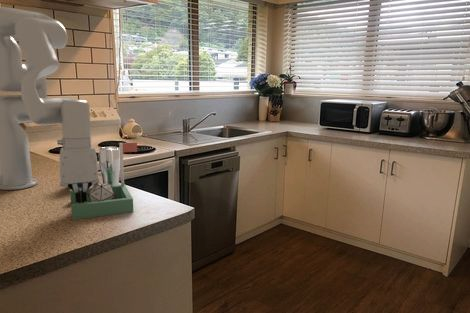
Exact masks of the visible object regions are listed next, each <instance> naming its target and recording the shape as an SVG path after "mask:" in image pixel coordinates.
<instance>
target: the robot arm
mask: <svg viewBox="0 0 470 313" xmlns="http://www.w3.org/2000/svg"><path fill="white" fill-rule="evenodd" d="M14 37H16V38H17V39H16V40H17V41H18V42H17V41H16V40H15V38H14ZM68 39H69V38H68V33H67V29H66V28H65V26H64V25H63V24H62V23H61V22H60V21H58V20H56V19H54V18H52V17H50V16H49V15H46V14H44V13H41V12H36V11H31V10H24V9H18V8H13V7H6V6H0V91H2V92H7V93H8V92H9V93H10V92H11V93H12V92H13V93H14V92H15V93H16V92H17V93H18V92H19V93H20V95H17V94H16V95H15V94H14V95H13V94H12V95H1V96H0V190H1V191H2V190H4V191H5V190H6V191H12V190H22V189H28V188H31V187H34V186H36V185H37V184H38V179H37V178H34V177H33V173H32V164H31V154H30V153H31V152H30V144H29V135H28V133H27V132H26V130H25V129H24V128H23V127H22V126H21V125H20V124H23V123H24V124H25V123H34V124H36V125H40V126H45V125H46V126H48V125H55V124H60V125H61V135H62V138H60V139H57V140H56V142H57V143H56V144H57V145H60V146H62V147H61V148H60V150H59V180H60V181H59V186H60V187H61V188H68V189H69V190H73V191H74V192H75V198H76V202H78V203H85V201H87V197H86V192H87V190H88V189H89V188H92V187H93V186H94V185H95V184H98V183H100V181H101V180H100V179H99V166H98V164H99V163H98V158H97V152H96V149H95V147H94V146H92V145H93V144H92V130H91V129H92V128H91V113H90V112H91V111H90V108H91V107H90V104H89V102H88V101H87V100H85V99H76V98H74V97H48V93H47V92H48V88H47V86H48V85H47V78H46V77H47V76H50V75H52V74H54V73H55V72H56V71H57V70H58V69H59V68H60V61H59V60H58V56H57V54H56V51H55V49H57V50H59V49H60V50H61V49H64V48H65V47H66V46H67V44H68ZM22 54H23V57H24V61H25V63H23V60H22V59H23V58H22ZM77 183H83V186H82V188H78V185H77ZM79 189H81V193H80V190H79Z"/></svg>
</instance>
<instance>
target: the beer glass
mask: <svg viewBox="0 0 470 313" xmlns="http://www.w3.org/2000/svg"><path fill="white" fill-rule="evenodd" d="M98 164H99V171H100V173H101V177H102V178H101V179H102V183H106V184H110V182H112V184H111V186H114V185H120V181H119V180H120V173H121V171H120V148H119V147H118V146H104V147H103V146H102V147H99V148H98Z"/></svg>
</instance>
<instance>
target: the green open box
mask: <svg viewBox="0 0 470 313" xmlns="http://www.w3.org/2000/svg"><path fill="white" fill-rule="evenodd" d="M118 144H119V151H120V184H119V185H114V186H112V189H113V192H114V194H117V195H116V196H117V197H114V199H113V200H104V201H94V202H91V200H90V197H88V195H86V197H87V201H85V202H84V203H82V202H81V203H78V202H76V198H75V192H74V191H73V190H71V189H69V191H70V192H69V193H70V194H69V195H70V209H71V210H70V211H71V220H79V219H87V218H94V217H95V218H96V217H104V216H105V217H106V216H111V215H120V214H127V213H134V199H133V196H132V195H131V192H130V191H129V189H128V188H127V185H126V184H125V175H124V174H125V173H124V172H125V170H124V168H125V167H124V153H130V152H131V153H132V152H135V153H137V152H138V142H133V141H132V142H119V143H118ZM91 189H92V187H90V188H89V189H88V190H87V192H86V194H87V193H88V194H89V192H90V191H91ZM79 190H80V193H81V188H79ZM115 198H116V199H115Z"/></svg>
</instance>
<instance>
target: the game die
mask: <svg viewBox="0 0 470 313" xmlns="http://www.w3.org/2000/svg"><path fill="white" fill-rule="evenodd" d="M111 184H112V182H110V184H106V183H103V182H101V183H100V182H99V183H98V184H95V185H92V186H91V188H92V189H91V191H90V192H89V194H88V193H87V194H86V195H88V197H90V200H91V201H90V202H94V201H104V200H113V199H114V197H117V196H116V195H117V194H114V192H113V189H112V186H111Z"/></svg>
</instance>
